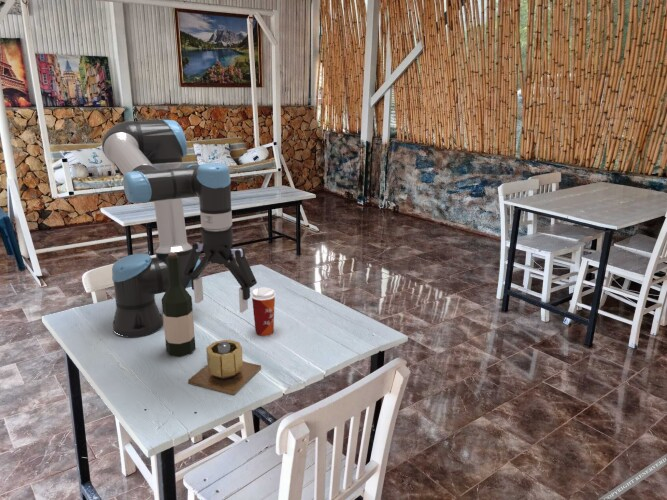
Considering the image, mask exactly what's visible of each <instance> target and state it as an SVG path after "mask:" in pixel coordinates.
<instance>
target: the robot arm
mask: <svg viewBox="0 0 667 500" xmlns="http://www.w3.org/2000/svg"><path fill="white" fill-rule="evenodd" d="M101 148H102V152H103V154H104V156H105V158H106V159H107V160H108V161H110V163H112V164H115V165H116V167H117V168H118V169H119V171H120V172H121V173H122V175H123V180H122V183H123V190H124V191H123V192H124V194H125V197H126V200H127V202H128V203H132V204H138V203H139V204H140V203H142V204H145V203H151V202H152V203H153V202H154V203H153V204H154V212H155V219H156V227H157V234H158V241H159V242H158V243H159V246H158V247H157V249H156V250H155V257H151V256H150V255H149V253H134V254H130V255H126V256H123V257H121V258H120V259H118V260H117V261H115V262H114V264H113V265H112V267H111V269H112V270H111V274H112V277H111V278H112V282H113V283H112V284H113V291H114V298H115V306H116V309H115V312H114V318H113V322H112V329H113V330H114V331H115V332H116V333H118V334H120V335H123V336H128V337H127V338H141V337H146V336H148V335H151V334H154V333H156V332H158V331H159V330H161V328H162V327H164V321H163V314H161V312H160V309H159V308H158V305H157V303H156V297H155V295H159V294H165V292H166V290H167V288H168V286H169V278H168V267H167V257H168V254H169V253H177V255H178V256H179V259H180V271H181V283H182V285H183V287H184V288H185V289H186V290H187V289H188V288H191V289H192V291H193V294H194V303H195V304H196V305H197V304H199V303H201V302H202V301H204V285H203V277H202V272H203V271H204V270H205V269H206V267H207V266H208V265H209V264H210V262H211V264H217V265H221V266H224V268H226V269H228V270H229V272H230V273H231V275H232V276H233V278H234V279H235V280H236V282H237V283H238V285H239V286H240V287H239V288H238V299H239V313H241V314H243V313H244V312H246V311H247V310H249V303H248V302H249V299H251V298H250V297H251V288H253V287H255V286H256V285H257V283H258V282H257V279H256V277H255V275H254V272H253V271H252V268H251V266H250V264H249V262H248V259H247V258H246V253H245V249H244V248H243V247H240V248H234V247H233V241H234V236H233V235H234V234H233V233H234V232H233V227H232V226H233V214H232V195H231V194H232V191H231V190H232V189H231V183H232V179H231V173H230V168H229V166H228V165H227V164H225V163H220V162H209V163H202V164H190V165H187V166H186V167H180V166H181V165H182V164H183V158H185V157H186V156H187V154H188V143H187V138H186V136H185V132H184V129H183V128H182V126H181V125H180V123H178V121H175V120H173V119H152V120H151V119H150V120H126V121H125V120H124V121H120V122H118V123H116V124H115V125H113V126H112V127H110V128H109V129H108V130H107V131H106V132H105V134H104V135H103V138H102V141H101ZM197 197H198V198H199V199H198V200H199V211H200V226H201V230H200V231H201V241H197V242H195V243H193V244H190V243H189V242H188V236H187V230H186V223H185V222H186V221H185V215H184V214H185V213H184V205H183V199H187V198H189V199H190V198H197ZM202 251H203V253H204V254H205V255H204V256H203V258H202V259H200V256H201V253H202ZM114 331H113V332H114ZM140 336H141V337H140Z"/></svg>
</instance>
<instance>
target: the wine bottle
mask: <svg viewBox="0 0 667 500" xmlns="http://www.w3.org/2000/svg"><path fill="white" fill-rule="evenodd" d="M167 267H168V278H169V286H168V288H167V290H166V292H164V293H163V296H162V297H161V309H162V318H163V330H164V338H165V339H164V340H165V349H166V353H167V354H168V355H169V357H177V358H182V357H185V356H188V355H192V353H194V351H195V350H196V348H197V347H196V336H195V322H194V310H193V298H192V296H191V294H190V293H189V292H188V291H187V288H186V289H185V288H184V287H183V285H182V283H181V271H180V259H179V256H178V255H177V253H169V254H168V257H167Z"/></svg>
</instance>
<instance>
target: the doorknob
mask: <svg viewBox="0 0 667 500" xmlns="http://www.w3.org/2000/svg"><path fill="white" fill-rule="evenodd" d="M227 353H230V343H229V342H220V343H219V344H218V354H227ZM242 361H243V360H242ZM261 369H262V365H260V364H255V363H251V362H247V361H243V368H242V369H241V370H240V371H239V372H238V373H237V374H235V375H231V376H226V377H223V376H222V377H218V376H214V375H211V374H210V373H209V370H208V364H207V363H206V365H205V366H204V367H203V368H201V369H200V370H198V372H196V373H195V374H194V375H193V376H191V377H190V378H189V379H188V381H187V382H188V385H193V386H196V387H201V388H205V389H209V390H213V391H216V392H220V393H222V394H223V393H224V394H227V395H232V396H235V395H236V394H237V393H238V392H239V391H240V390H241V389H242V388H243V387H244V386H245V385H246V384H247V383H248V382H249V381H250V380H251V379H252V378H253V377H254V376H256V374H257V373H258V372H260V370H261Z"/></svg>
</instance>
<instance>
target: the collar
mask: <svg viewBox="0 0 667 500" xmlns="http://www.w3.org/2000/svg"><path fill="white" fill-rule="evenodd" d="M220 342H229V343H230V353H227V354H218V344H219V343H220ZM242 347H243V346H241V344H240V342H239V341H236V340H232V339H224V340H217V341H214V342H212V343H210V344H209V345H208V346H206V350H205V351H206V360H207V362H206V365H207V364H208V370H209V373H210V374H211V375H214V376H218V377H222V376H223V377H226V376H231V375H235V374H237V373H238V372H239V371H240V370H241V369H242V368H243V348H242Z"/></svg>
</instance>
